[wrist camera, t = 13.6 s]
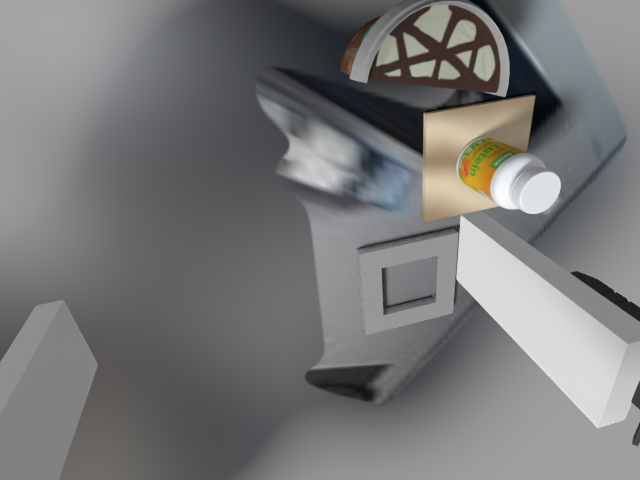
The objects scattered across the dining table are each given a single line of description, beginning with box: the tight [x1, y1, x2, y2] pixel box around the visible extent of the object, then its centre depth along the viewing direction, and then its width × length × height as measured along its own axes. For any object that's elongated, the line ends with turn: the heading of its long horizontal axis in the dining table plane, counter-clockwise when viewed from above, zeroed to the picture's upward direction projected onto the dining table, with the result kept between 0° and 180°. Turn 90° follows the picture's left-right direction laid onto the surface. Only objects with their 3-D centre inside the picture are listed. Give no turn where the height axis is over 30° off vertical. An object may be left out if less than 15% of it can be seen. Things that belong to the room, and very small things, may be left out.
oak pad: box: [422, 95, 535, 222], centre depth 44 cm, size 12×12×1 cm
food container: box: [340, 0, 509, 97], centre depth 32 cm, size 12×6×10 cm, turn 83°
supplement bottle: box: [456, 138, 561, 214], centre depth 39 cm, size 5×5×10 cm
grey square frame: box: [356, 228, 459, 335], centre depth 49 cm, size 12×12×1 cm
